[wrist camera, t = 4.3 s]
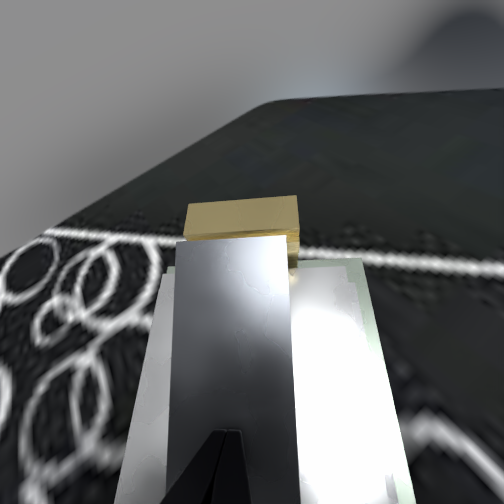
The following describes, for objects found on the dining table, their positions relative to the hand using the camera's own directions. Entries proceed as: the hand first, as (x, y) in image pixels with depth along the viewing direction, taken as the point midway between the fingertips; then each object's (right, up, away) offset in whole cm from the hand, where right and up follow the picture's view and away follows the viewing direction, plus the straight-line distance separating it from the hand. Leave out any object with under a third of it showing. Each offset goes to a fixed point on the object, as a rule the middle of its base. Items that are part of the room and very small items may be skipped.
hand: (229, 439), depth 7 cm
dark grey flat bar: (0, -1, +1) cm, 1 cm away
